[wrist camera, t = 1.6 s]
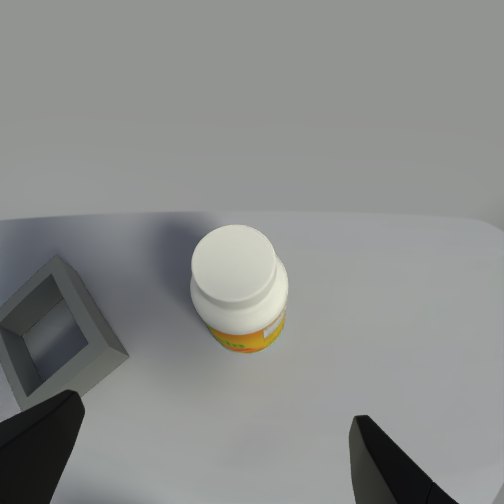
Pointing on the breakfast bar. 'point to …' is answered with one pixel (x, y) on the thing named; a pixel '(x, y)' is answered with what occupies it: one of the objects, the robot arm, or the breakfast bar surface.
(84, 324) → the grey square frame
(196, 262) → the supplement bottle
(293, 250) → the breakfast bar surface
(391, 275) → the breakfast bar surface
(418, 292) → the breakfast bar surface
